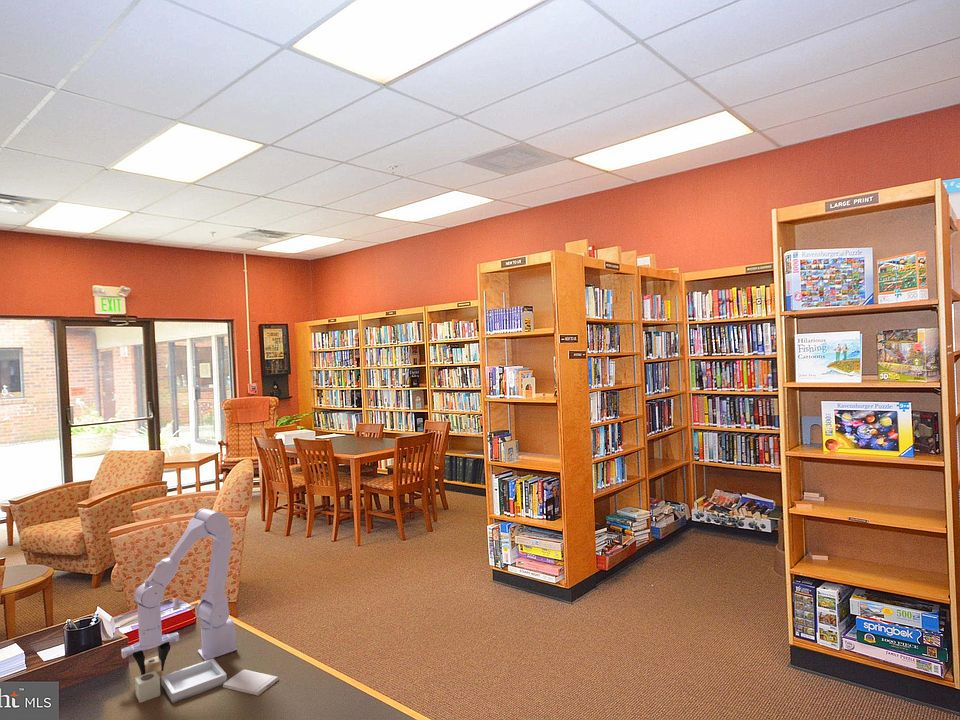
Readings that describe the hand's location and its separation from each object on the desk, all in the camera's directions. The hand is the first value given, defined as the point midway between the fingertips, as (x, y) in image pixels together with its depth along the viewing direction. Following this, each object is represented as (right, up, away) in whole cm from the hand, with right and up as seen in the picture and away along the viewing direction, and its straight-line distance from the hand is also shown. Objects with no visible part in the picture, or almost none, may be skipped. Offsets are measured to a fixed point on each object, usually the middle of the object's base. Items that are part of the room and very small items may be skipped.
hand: (152, 673), depth 175 cm
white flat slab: (+30, -1, -5) cm, 30 cm away
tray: (+14, -1, -4) cm, 14 cm away
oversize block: (+4, -2, -9) cm, 10 cm away
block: (0, -1, 0) cm, 1 cm away
